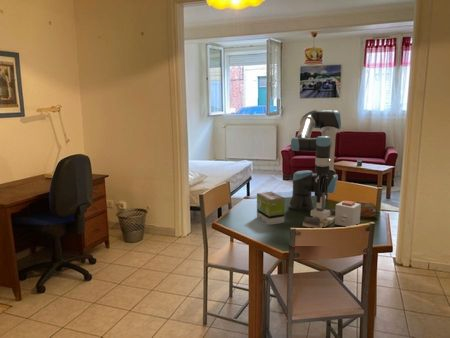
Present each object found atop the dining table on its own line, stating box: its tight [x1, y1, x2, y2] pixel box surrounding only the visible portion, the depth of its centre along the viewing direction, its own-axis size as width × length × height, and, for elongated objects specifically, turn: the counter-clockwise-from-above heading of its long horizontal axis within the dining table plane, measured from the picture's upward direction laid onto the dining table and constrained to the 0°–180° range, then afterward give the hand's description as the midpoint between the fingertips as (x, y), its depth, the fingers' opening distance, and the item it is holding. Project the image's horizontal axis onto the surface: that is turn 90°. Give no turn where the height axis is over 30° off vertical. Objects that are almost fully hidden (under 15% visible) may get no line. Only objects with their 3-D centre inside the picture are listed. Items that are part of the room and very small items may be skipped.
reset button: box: [341, 200, 356, 206], centre depth 211 cm, size 5×5×3 cm
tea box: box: [256, 191, 286, 226], centre depth 218 cm, size 15×10×15 cm
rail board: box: [302, 207, 336, 229], centre depth 215 cm, size 24×10×5 cm, turn 140°
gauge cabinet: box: [334, 200, 361, 227], centre depth 212 cm, size 10×11×11 cm
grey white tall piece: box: [310, 192, 330, 221], centre depth 212 cm, size 7×8×15 cm
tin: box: [354, 201, 378, 218], centre depth 226 cm, size 15×3×8 cm, turn 68°
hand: (320, 207), depth 212 cm, fingers closed on grey white tall piece, 3 cm apart
